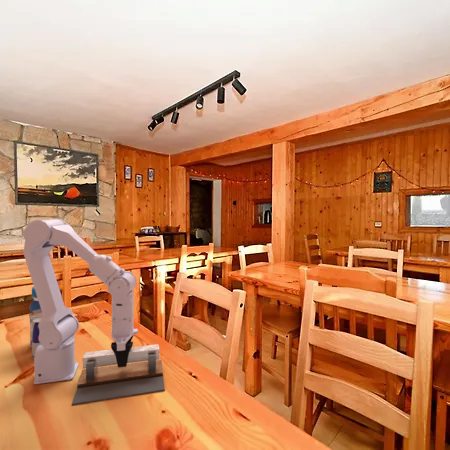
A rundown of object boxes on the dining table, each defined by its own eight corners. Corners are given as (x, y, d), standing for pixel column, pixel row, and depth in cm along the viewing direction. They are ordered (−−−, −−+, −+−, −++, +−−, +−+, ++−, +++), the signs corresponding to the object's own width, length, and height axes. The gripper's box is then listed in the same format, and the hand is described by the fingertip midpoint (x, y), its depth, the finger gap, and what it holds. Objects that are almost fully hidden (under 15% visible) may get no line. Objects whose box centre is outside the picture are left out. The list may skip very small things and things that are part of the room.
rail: (82, 368, 76) (82, 358, 76) (85, 362, 79) (84, 352, 79) (159, 359, 82) (159, 349, 82) (158, 353, 85) (158, 344, 85)
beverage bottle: (64, 338, 102) (63, 283, 100) (47, 350, 93) (46, 290, 92) (42, 336, 103) (41, 282, 101) (23, 348, 94) (22, 289, 93)
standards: (77, 389, 74) (77, 366, 74) (82, 373, 81) (82, 352, 81) (163, 376, 81) (163, 355, 80) (161, 363, 87) (161, 343, 87)
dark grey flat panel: (71, 405, 68) (71, 403, 68) (77, 389, 74) (77, 388, 74) (164, 390, 75) (164, 389, 75) (163, 377, 80) (163, 375, 80)
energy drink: (42, 361, 87) (42, 323, 86) (27, 359, 88) (27, 321, 87) (56, 352, 92) (55, 316, 91) (42, 350, 93) (41, 314, 92)
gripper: (137, 325, 74) (137, 375, 75) (137, 306, 88) (137, 348, 89) (108, 328, 72) (108, 379, 73) (113, 308, 86) (113, 351, 87)
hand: (122, 363), depth 81 cm, fingers closed on rail, 3 cm apart
